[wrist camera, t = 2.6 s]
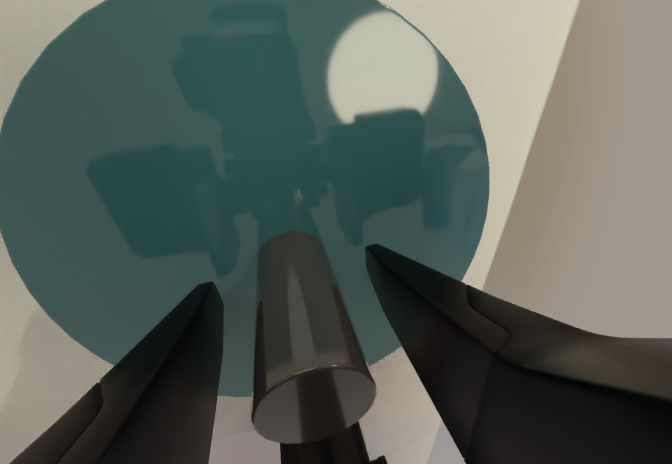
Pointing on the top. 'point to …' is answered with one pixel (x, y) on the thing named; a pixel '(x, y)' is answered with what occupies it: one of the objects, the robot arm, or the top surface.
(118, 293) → the lid
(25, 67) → the top surface
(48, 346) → the top surface
